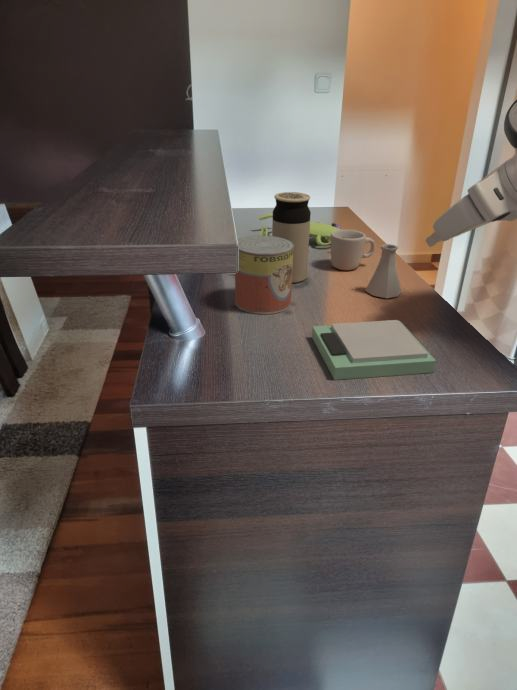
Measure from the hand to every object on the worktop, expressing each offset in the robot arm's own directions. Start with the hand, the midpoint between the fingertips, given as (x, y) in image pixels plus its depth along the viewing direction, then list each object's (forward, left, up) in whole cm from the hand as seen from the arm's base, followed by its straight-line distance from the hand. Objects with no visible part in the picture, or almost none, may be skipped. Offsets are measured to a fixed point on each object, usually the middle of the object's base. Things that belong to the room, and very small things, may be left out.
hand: (441, 237), depth 96 cm
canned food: (+33, -5, -14) cm, 36 cm away
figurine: (+16, -45, -14) cm, 50 cm away
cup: (+9, -23, -14) cm, 29 cm away
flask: (+7, -7, -14) cm, 17 cm away
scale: (+19, +18, -14) cm, 29 cm away
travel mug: (+25, -18, -14) cm, 34 cm away
